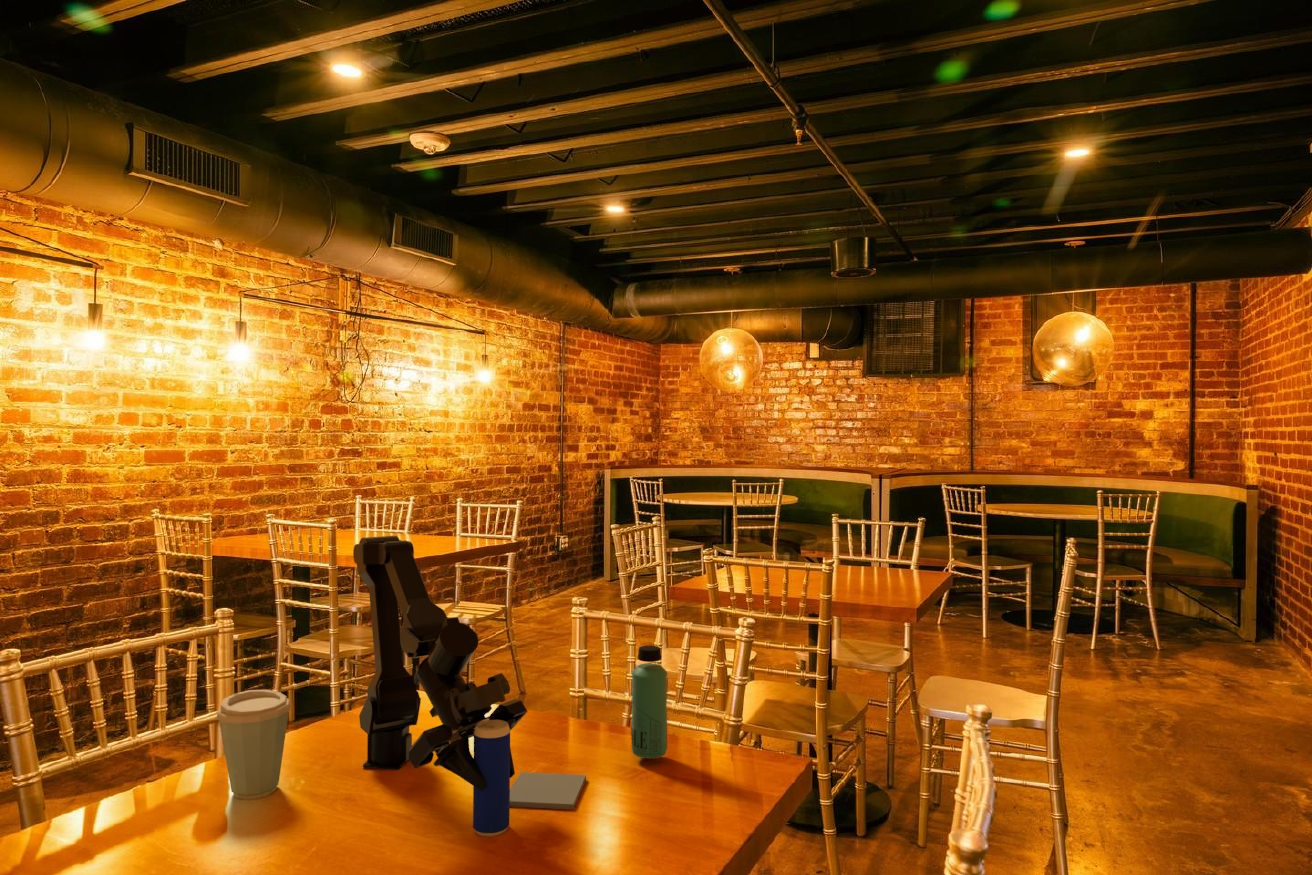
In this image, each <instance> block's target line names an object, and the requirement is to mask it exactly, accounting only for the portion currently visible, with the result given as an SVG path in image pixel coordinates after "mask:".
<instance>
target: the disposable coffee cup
mask: <svg viewBox="0 0 1312 875" xmlns="http://www.w3.org/2000/svg"><path fill="white" fill-rule="evenodd" d="M287 697H288V696H287V695H285V694H283V693H282V692H280V691H275V690H270V689H249V690H248V689H247V690H245V691H240V692H236V693H233V694H231V695H228V696H227V697H225V698H223V699H222V701H221V703H220V707H219V709H218V711H217V713H216V720H217V721H218V723H219V728H220V735H221V739H222V745H223V751H224V756H225V761H226V768H227V773H228V778H229V779H228V780H229V784H230V785H229V786H230V789H231V793H233V797H235V798H236V799H238V800H246V801H249V800H256V799H260V798H263V797H266V796H270V795H271V794H273V793H274V792H275V791H277V788H278V786H279V782H280V776H281V770H282V769H281V768H282V762H283V754H284V747H285V741H286V735H287V734H286V733H287V726H288V720H289V711H290V710H291V706H292V705H291V700H290V699H289V698H287Z"/></svg>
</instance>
